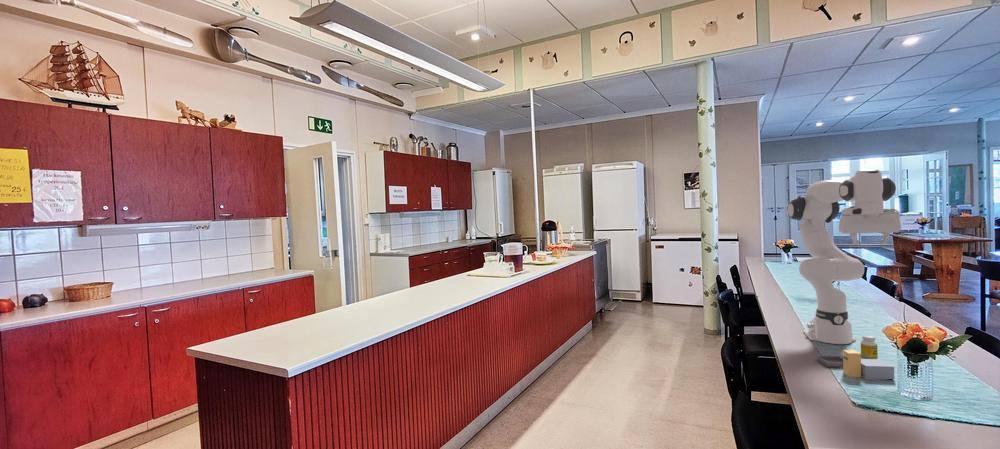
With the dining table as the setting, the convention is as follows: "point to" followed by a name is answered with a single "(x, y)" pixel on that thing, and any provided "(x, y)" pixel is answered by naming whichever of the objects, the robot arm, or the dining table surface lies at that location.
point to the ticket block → (876, 369)
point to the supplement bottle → (868, 347)
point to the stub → (852, 363)
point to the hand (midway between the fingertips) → (869, 244)
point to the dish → (831, 361)
